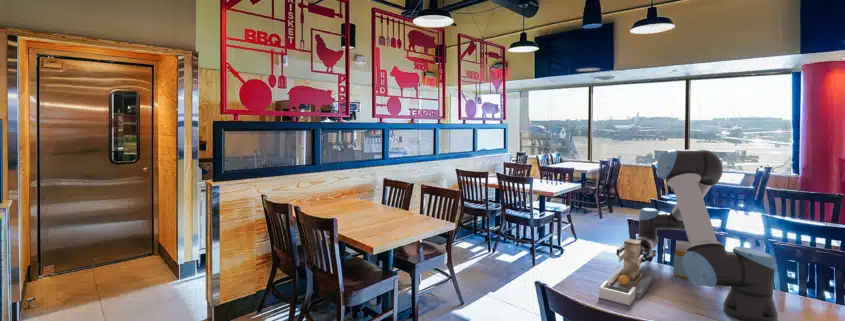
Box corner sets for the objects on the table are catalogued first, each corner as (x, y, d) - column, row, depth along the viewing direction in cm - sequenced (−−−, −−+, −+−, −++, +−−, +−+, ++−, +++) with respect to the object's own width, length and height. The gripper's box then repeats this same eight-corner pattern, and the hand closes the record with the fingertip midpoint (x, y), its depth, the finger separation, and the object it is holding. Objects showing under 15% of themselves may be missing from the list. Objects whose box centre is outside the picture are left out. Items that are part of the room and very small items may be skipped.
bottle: (669, 274, 184) (671, 241, 183) (680, 272, 187) (681, 239, 186) (685, 280, 178) (687, 246, 176) (695, 277, 181) (697, 244, 179)
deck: (654, 278, 181) (654, 272, 181) (639, 298, 161) (640, 292, 161) (620, 270, 190) (620, 265, 189) (602, 289, 170) (602, 283, 170)
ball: (630, 284, 168) (630, 274, 168) (627, 287, 165) (627, 277, 165) (619, 282, 171) (619, 272, 171) (616, 285, 168) (617, 275, 168)
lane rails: (644, 274, 179) (644, 271, 178) (632, 290, 163) (632, 287, 162) (624, 270, 184) (624, 267, 184) (609, 285, 168) (609, 282, 168)
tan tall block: (639, 275, 178) (641, 240, 176) (634, 280, 171) (636, 245, 170) (626, 272, 181) (627, 238, 180) (620, 277, 175) (622, 243, 173)
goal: (635, 298, 162) (636, 287, 161) (629, 306, 155) (629, 294, 154) (605, 290, 169) (606, 280, 168) (598, 298, 162) (599, 287, 161)
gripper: (666, 259, 184) (654, 274, 167) (619, 250, 197) (604, 264, 179) (667, 242, 184) (655, 256, 166) (619, 234, 196) (604, 247, 178)
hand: (628, 260), depth 173 cm, fingers open, 6 cm apart
